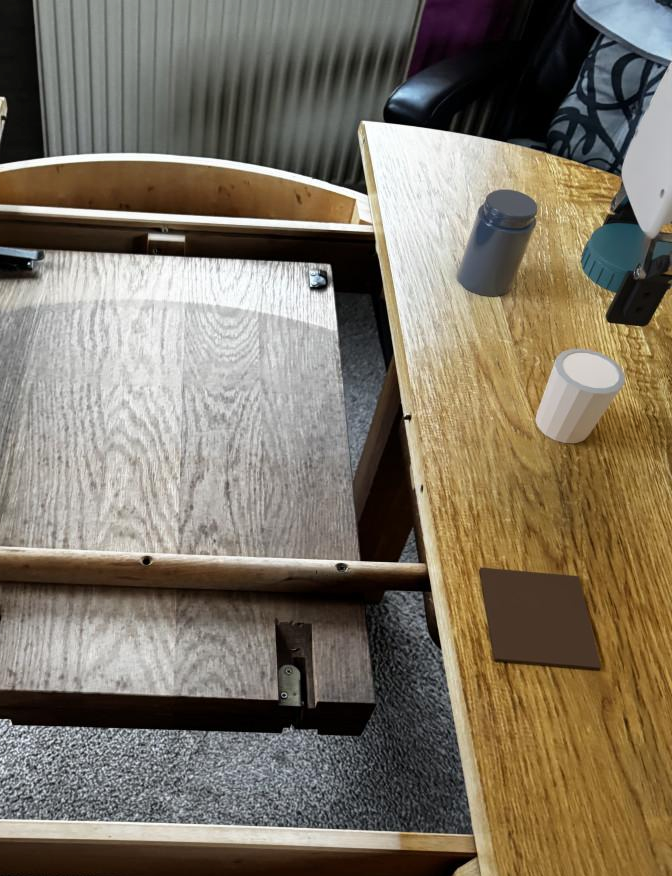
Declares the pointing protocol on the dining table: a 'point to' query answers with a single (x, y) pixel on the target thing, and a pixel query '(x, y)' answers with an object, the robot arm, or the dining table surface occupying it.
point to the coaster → (538, 619)
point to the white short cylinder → (578, 394)
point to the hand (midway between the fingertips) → (616, 291)
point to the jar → (497, 242)
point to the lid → (615, 253)
